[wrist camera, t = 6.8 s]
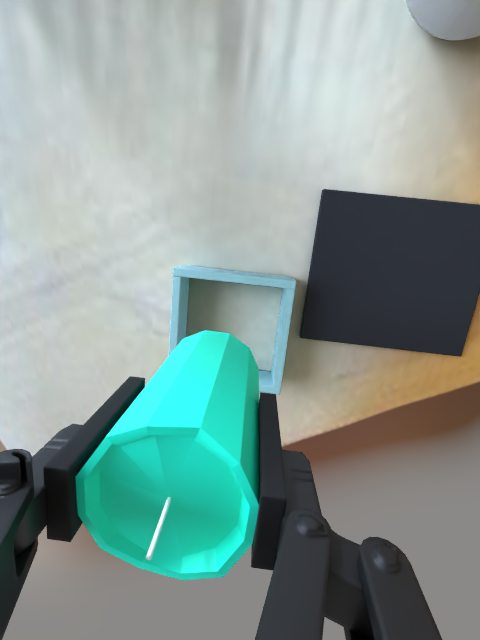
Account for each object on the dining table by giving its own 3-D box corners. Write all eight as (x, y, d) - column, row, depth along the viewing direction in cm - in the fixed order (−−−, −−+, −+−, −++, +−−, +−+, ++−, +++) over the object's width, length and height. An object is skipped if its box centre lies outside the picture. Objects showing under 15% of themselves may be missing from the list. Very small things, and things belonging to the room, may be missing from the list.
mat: (299, 335, 34) (300, 337, 33) (321, 190, 31) (323, 189, 30) (456, 354, 34) (461, 356, 33) (498, 208, 30) (504, 207, 29)
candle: (278, 384, 20) (305, 583, 8) (205, 432, 21) (141, 666, 9) (219, 310, 19) (158, 419, 7) (147, 365, 20) (-5, 534, 8)
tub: (177, 366, 36) (167, 381, 32) (183, 264, 33) (173, 267, 29) (277, 378, 36) (279, 394, 32) (292, 276, 33) (296, 281, 29)
